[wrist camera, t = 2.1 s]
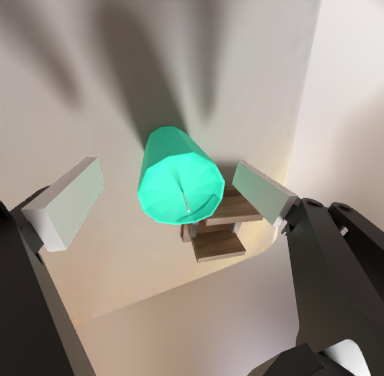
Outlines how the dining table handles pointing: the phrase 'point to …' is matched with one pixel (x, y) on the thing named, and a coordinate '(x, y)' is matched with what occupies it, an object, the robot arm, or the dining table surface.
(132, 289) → the dining table surface
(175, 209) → the candle
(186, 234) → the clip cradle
